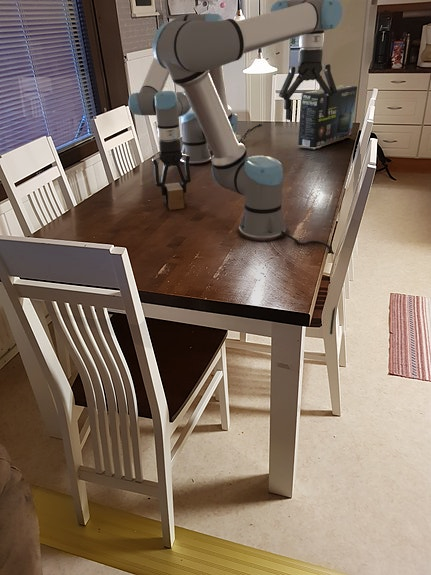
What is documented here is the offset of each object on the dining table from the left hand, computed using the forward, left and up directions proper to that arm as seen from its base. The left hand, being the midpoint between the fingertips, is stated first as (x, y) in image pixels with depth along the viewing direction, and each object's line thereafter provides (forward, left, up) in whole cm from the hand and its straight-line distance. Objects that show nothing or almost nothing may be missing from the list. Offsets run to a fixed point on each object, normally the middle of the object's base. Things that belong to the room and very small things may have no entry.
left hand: (174, 202), depth 173 cm
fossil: (-93, +13, -1) cm, 94 cm away
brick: (0, 0, -1) cm, 1 cm away
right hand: (-6, +48, +28) cm, 56 cm away
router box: (-91, +66, -1) cm, 112 cm away
